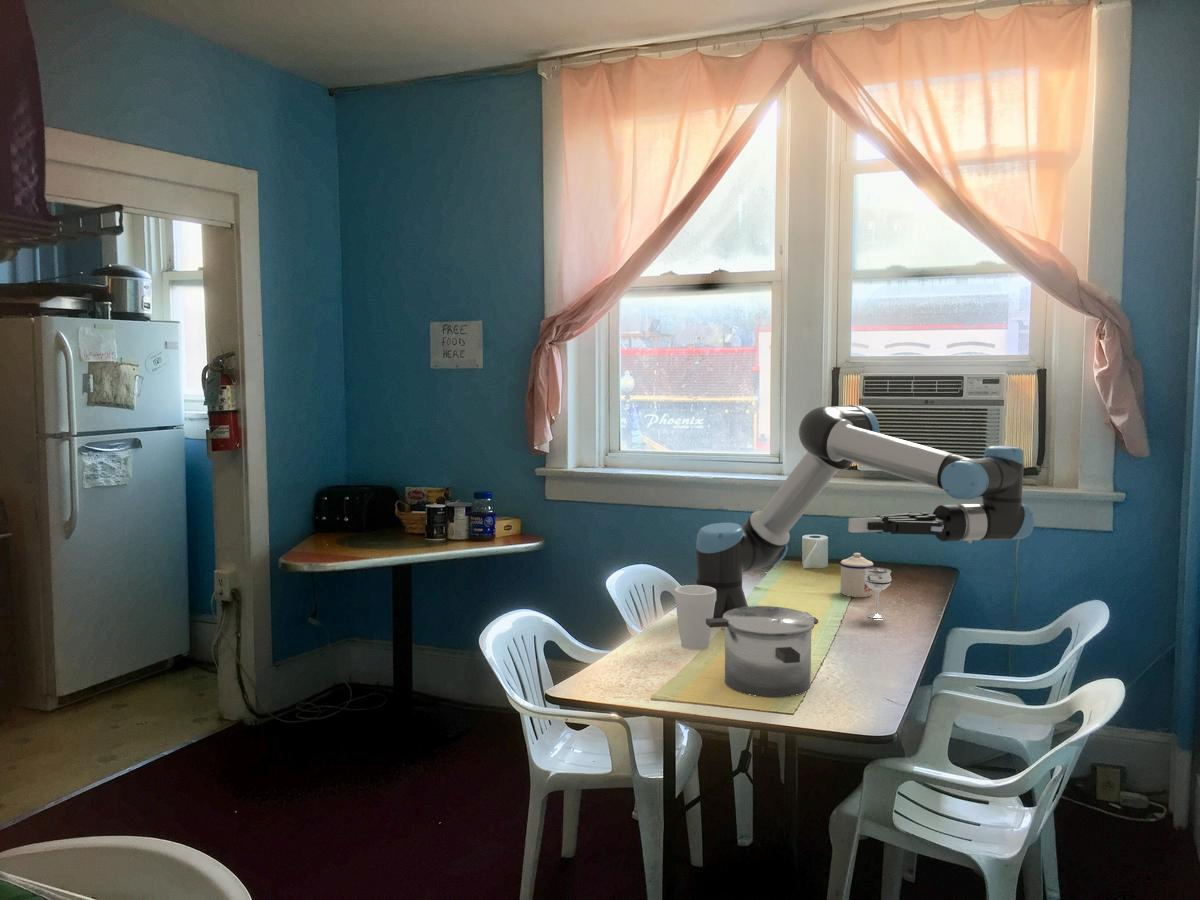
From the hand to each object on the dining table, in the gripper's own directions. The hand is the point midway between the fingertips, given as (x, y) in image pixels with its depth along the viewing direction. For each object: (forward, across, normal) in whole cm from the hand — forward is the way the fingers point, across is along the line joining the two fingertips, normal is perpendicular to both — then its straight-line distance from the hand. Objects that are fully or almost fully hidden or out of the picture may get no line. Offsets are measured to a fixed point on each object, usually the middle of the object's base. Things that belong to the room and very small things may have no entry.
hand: (850, 525), depth 186 cm
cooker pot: (+17, 0, -32) cm, 36 cm away
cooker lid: (+18, 0, -20) cm, 27 cm away
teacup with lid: (-35, +68, -33) cm, 83 cm away
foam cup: (+24, +27, -32) cm, 49 cm away
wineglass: (-29, +43, -32) cm, 61 cm away
